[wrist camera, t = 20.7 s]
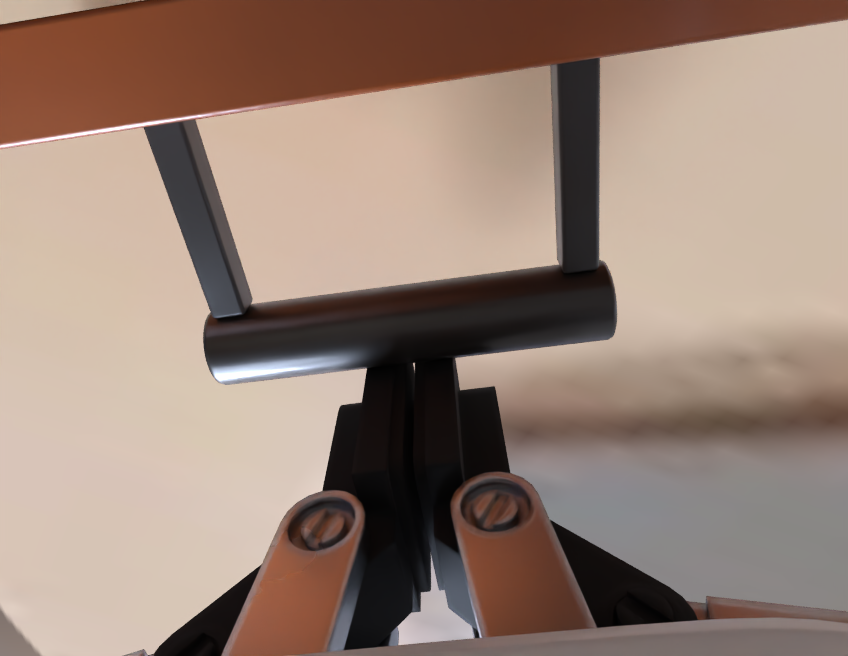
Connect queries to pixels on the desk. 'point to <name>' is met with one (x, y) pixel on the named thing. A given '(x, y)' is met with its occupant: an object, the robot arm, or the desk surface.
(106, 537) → the desk surface
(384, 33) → the drawer
